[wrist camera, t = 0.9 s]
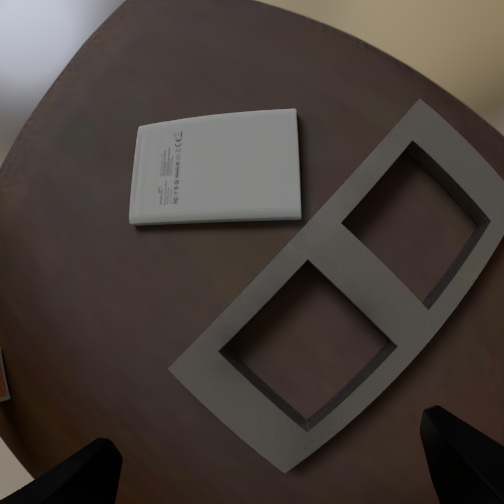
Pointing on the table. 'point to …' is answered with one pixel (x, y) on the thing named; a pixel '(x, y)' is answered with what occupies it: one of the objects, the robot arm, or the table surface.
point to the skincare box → (3, 381)
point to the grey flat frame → (350, 295)
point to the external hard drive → (217, 169)
